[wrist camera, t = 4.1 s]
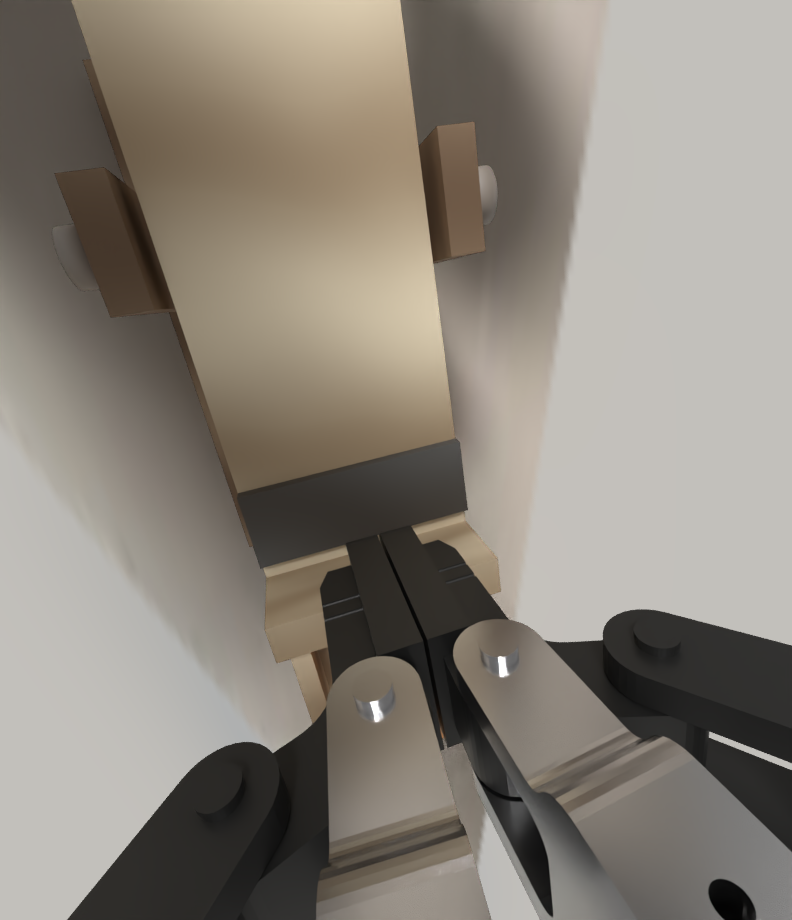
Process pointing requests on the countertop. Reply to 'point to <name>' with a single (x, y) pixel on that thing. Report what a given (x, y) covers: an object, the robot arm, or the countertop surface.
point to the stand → (140, 273)
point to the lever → (296, 275)
